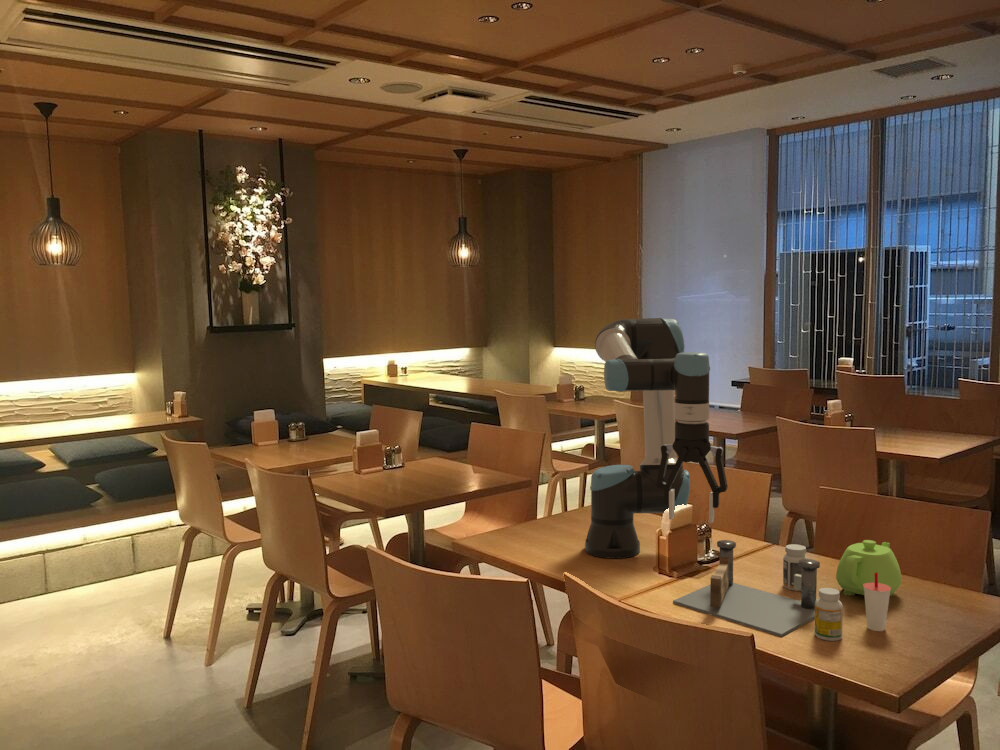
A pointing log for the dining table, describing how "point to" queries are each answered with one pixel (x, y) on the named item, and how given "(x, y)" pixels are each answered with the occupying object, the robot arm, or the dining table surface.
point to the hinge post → (727, 555)
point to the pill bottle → (792, 564)
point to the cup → (876, 604)
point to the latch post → (807, 582)
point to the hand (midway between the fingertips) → (691, 519)
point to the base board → (752, 608)
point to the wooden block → (719, 583)
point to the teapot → (868, 567)
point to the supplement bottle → (828, 615)
